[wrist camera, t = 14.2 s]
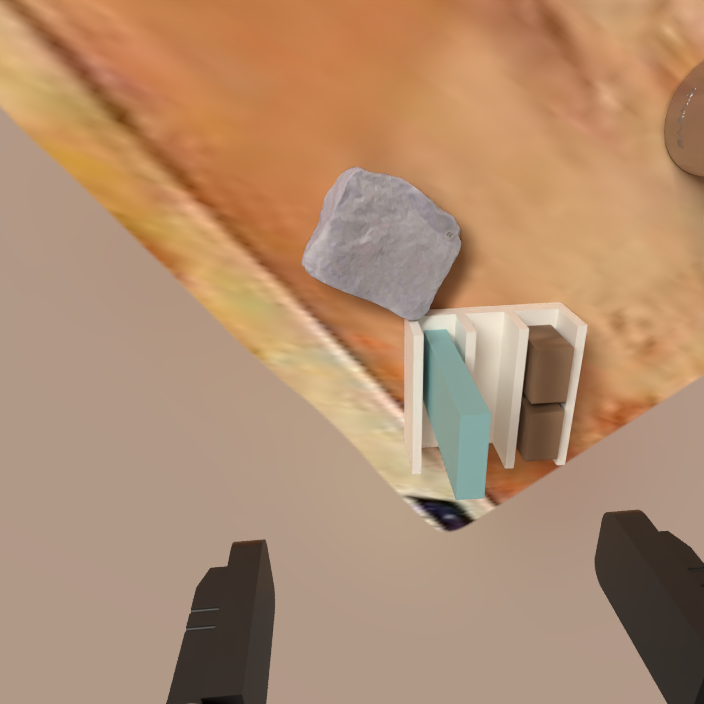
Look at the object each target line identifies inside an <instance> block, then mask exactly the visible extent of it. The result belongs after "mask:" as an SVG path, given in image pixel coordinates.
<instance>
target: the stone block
mask: <svg viewBox="0 0 704 704" xmlns="http://www.w3.org/2000/svg"><path fill="white" fill-rule="evenodd" d="M460 234H461V230H460V227H459V225H458V223H457V221H456V219H455V218H454V217H453V216H452V215H450V214H449V213H447V212H445V211H444V210H442V209H441V208H440V207H438V206H437V205H436V204H435V203H434V202H433V201H432V200H431V199H430V198H429V197H427V196H425V195H424V194H423V193H422V192H421V191H420V190H418V189H417V188H416V187H414V186H412V185H411V184H410V183H408V182H407V181H405V180H404V179H402V178H399V177H393V176H391V175H387V174H381V173H372V172H370V171H367V170H365V169H362V168H360V167H353V168H350V169H348V170H346V171H345V172H343V173H342V174H341V175H340V176H339V177H338V179H337V181H336V182H335V184H334V185H333V186H332V188H331V189H330V190H329V191H328V193H327V195H326V196H325V199H324V203H323V208H322V211H321V212H320V221H319V223H318V225H317V228H316V229H315V230H314V233H313V234H312V236H311V238H310V240H309V242H308V244H307V246H306V248H305V251H304V254H303V260H302V265H303V266H304V268H305V271H306V272H308V273H309V274H310V275H311V276H312V277H314V278H316V279H317V280H320V281H321V282H323V283H325V284H327V285H329V286H331V287H334V288H336V289H339V290H341V291H343V292H346V293H348V294H351V295H353V296H356V297H359V298H362V299H365V300H368V301H371V302H373V303H376V304H378V305H380V306H382V307H383V308H386V309H389V310H390V311H392V312H393V313H395V314H397V315H398V316H400V317H402V318H405V319H407V320H418V319H420V318H422V317H423V316H424V315H425V314H426V313H427V312H428V311H429V309H430V305H431V303H432V302H433V300H434V296H435V294H436V293H437V291H438V289H439V287H440V286H441V284H442V282H443V280H444V279H445V277H446V275H447V274H448V273H449V270H450V268H451V266H452V264H453V263H454V261H455V259H456V257H457V256H458V254H459V251H460V248H461V243H462V242H461V240H460V239H459V236H460Z"/></svg>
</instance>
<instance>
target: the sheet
mask: <svg viewBox="0 0 704 704" xmlns="http://www.w3.org/2000/svg"><path fill="white" fill-rule="evenodd" d="M423 401H424V404H425V407H426V410H427V413H428V416H429V419H430V422H431V425H432V428H433V431H434V435H435V438H436V441H437V444H438V447H439V450H440V453H441V456H442V459H443V462H444V465H445V468H446V471H447V474H448V477H449V480H450V483H451V486H452V489H453V492H454V496H455V499H456V500H464V499H479V498H484V494H485V482H486V470H487V458H488V446H489V434H490V422H491V413H490V411H489V409H488V407H487V405H486V403H485V401H484V399H483V398H482V396H481V394H480V392H479V390H478V388H477V386H476V384H475V382H474V380H473V379H472V377H471V375H470V373H469V371H468V369H467V367H466V365H465V363H464V362H463V360H462V358H461V356H460V354H459V352H458V350H457V348H456V346H455V345H454V343H453V341H452V339H451V337H450V335H449V333H448V331H447V329H440V330H424V354H423Z"/></svg>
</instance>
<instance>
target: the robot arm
mask: <svg viewBox="0 0 704 704" xmlns="http://www.w3.org/2000/svg"><path fill="white" fill-rule="evenodd" d="M664 132H665V141H666V146H667V149H668V152H669V155H670V156H671V158H672V159H673V161H674V162H675V164H677V165H678V166H679V167H680V168H681V169H682V170H684V171H686V172H688V173H690V174H693V175H697V176H702V177H704V62H702V63H701V64H700V65H698V66H697V67H696V68H695V69H694V70H693V71H692V72H691V73H690V74H689V75H688V76H687V77H686V78H685V79H684V81H683V82H682V84H681V85H680V86H679V88H678V89H677V91H676V93H675V95H674V97H673V99H672V101H671V103H670V105H669V109H668V112H667V116H666V121H665V131H664ZM595 570H596V575H597V578H598V581H599V584H600V586H601V588H602V590H603V591H604V593H605V595H606V596H607V598H608V600H609V602H610V603H611V605H612V607H613V609H614V610H615V612H616V614H617V616H618V617H619V619H620V621H621V623H622V624H623V626H624V628H625V630H626V631H627V633H628V635H629V637H630V639H631V640H632V642H633V644H634V646H635V647H636V649H637V651H638V653H639V654H640V656H641V658H642V660H643V661H644V663H645V665H646V667H647V668H648V670H649V672H650V674H651V676H652V677H653V679H654V681H655V682H656V684H657V686H658V688H659V690H660V691H661V693H662V695H663V697H664V698H665V700H666V702H667V704H704V563H703V562H702V561H701V559H700V558H699V557H698V556H697V555H696V553H695V552H694V551H693V550H692V548H691V547H690V546H688V545H687V544H685V543H684V542H683V541H681V540H680V539H678V538H677V537H676V536H674V535H673V534H671V533H670V532H669V531H660V532H659V531H658V530H657V529H656V528H655V526H654V525H653V524H652V522H651V521H650V520H649V519H648V517H647V516H646V515H645V514H644V513H643V512H642V511H640V510H629V511H617V512H606V513H605V514H604V515H603V518H602V523H601V528H600V534H599V539H598V544H597V550H596V555H595ZM274 614H275V591H274V583H273V577H272V571H271V565H270V560H269V554H268V548H267V544H266V540H253V541H241V542H234V543H233V544H232V547H231V551H230V556H229V562H228V566H227V567H215V568H210V569H209V571H208V572H207V574H206V575H205V576H204V578H203V579H202V580H201V582H200V583H199V585H198V586H197V588H196V591H195V595H194V599H193V603H192V607H191V614H189V618H188V622H187V626H186V632H185V634H184V638H183V642H182V645H181V650H180V653H179V657H178V661H177V665H176V669H175V673H174V677H173V681H172V684H171V688H170V692H169V696H168V700H167V703H166V704H266V700H267V689H268V678H269V668H270V657H271V646H272V636H273V624H274Z"/></svg>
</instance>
